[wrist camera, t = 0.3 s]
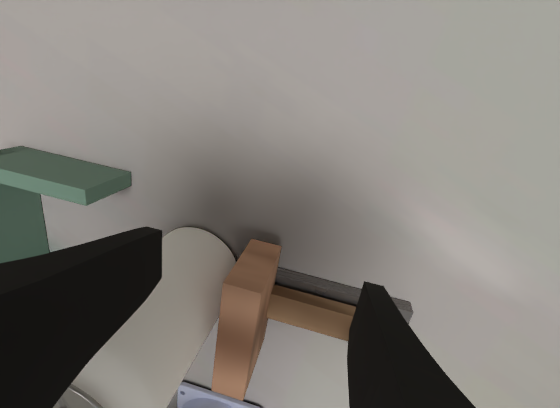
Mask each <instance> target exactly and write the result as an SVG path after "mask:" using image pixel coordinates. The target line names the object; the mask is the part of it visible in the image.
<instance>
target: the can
mask: <svg viewBox="0 0 560 408" xmlns="http://www.w3.org/2000/svg"><path fill="white" fill-rule="evenodd" d="M235 263H236V261H235V258H234V256H233V254H232V252H231V251H230V250H229V248H228V247H227V246H226V245H225V244H224V243H223V242H222V241H221V240H220V239H219V238H218V237H216V236H215V235H213V234H211V233H209V232H207V231H205V230H202V229H198V228H193V227H182V228H177V229H175V230H173V231H171V232H169V233H168V234H167V235H165V236H164V237H163V238H162V278H161V280H160V281H159V283H158V284H157V286H156V287H155V288H154V290H153V291H152V293H151V294H150V295H149V297H148V298H147V299H146V301H145V302H144V303H143V304H142V305H141V306H140V307H139V308H138V309H137V311H136V312H135V313H134V314H133V315H132V316H131V317H130V318H129V319H128V320H127V321H126V322H125V323H124V324H123V325H122V327H121V328H120V329H119V330H118V331H117V332H116V333H115V334H114V335H113V336H112V337H111V338H110V339H109V340H108V341H107V342H106V343H105V344H104V346H103V347H102V348H101V349H100V350H99V351H98V352H97V353H96V354H95V355H94V356H93V358H92V359H91V360H90V361H89V362H88V363H87V364H86V366H85V367H84V368H83V369H82V371H81V372H80V373H79V374H78V376H77V377H76V378H75V380H74V381H73V382H72V383H71V385H70V386H69V387H68V388H67V390H66V391H65V392H64V394H63V395H62V396H61V397H60V399H59V400H58V402H57V403H56V404H55V406H54V407H53V408H167V406H168V405H169V403H170V401H171V399H172V398H173V396H174V394H175V392H176V391H177V389H178V387H179V386H180V384H181V382H182V380H183V379H184V377H185V375H186V373H187V372H188V370H189V368H190V366H191V365H192V363H193V361H194V359H195V358H196V356H197V354H198V352H199V351H200V349H201V347H202V345H203V344H204V342H205V340H206V338H207V337H208V335H209V333H210V331H211V329H212V328H213V326H214V324H215V322H216V321H217V319H218V317H219V314H220V305H221V296H222V287H223V282H224V280H225V279H226V277H227V276H228V274H229V273H230V271H231V270H232V268H233V267H234V265H235Z"/></svg>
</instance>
